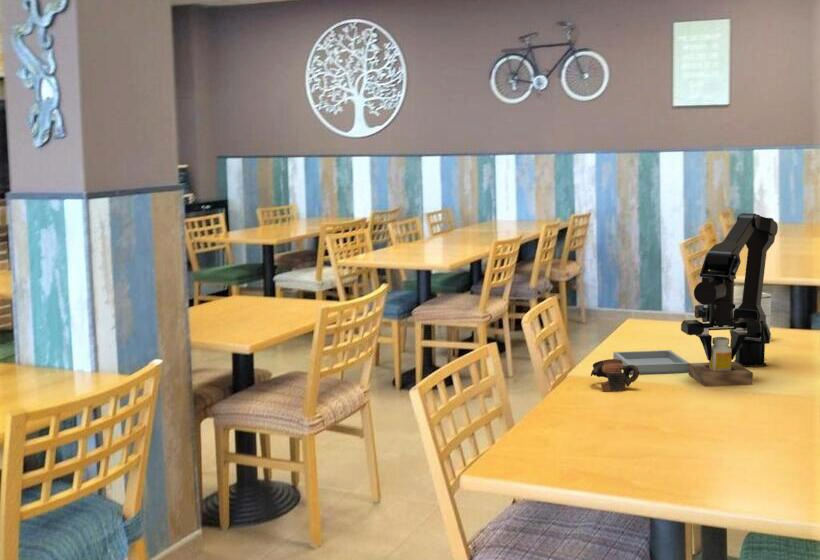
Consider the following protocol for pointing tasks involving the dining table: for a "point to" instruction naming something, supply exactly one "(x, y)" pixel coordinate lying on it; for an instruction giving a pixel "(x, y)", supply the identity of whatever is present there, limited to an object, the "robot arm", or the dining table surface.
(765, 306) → the syrup box
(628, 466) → the dining table surface
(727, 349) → the supplement bottle
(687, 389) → the dining table surface
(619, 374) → the pottery mug
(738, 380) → the sleeve block
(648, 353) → the tray
